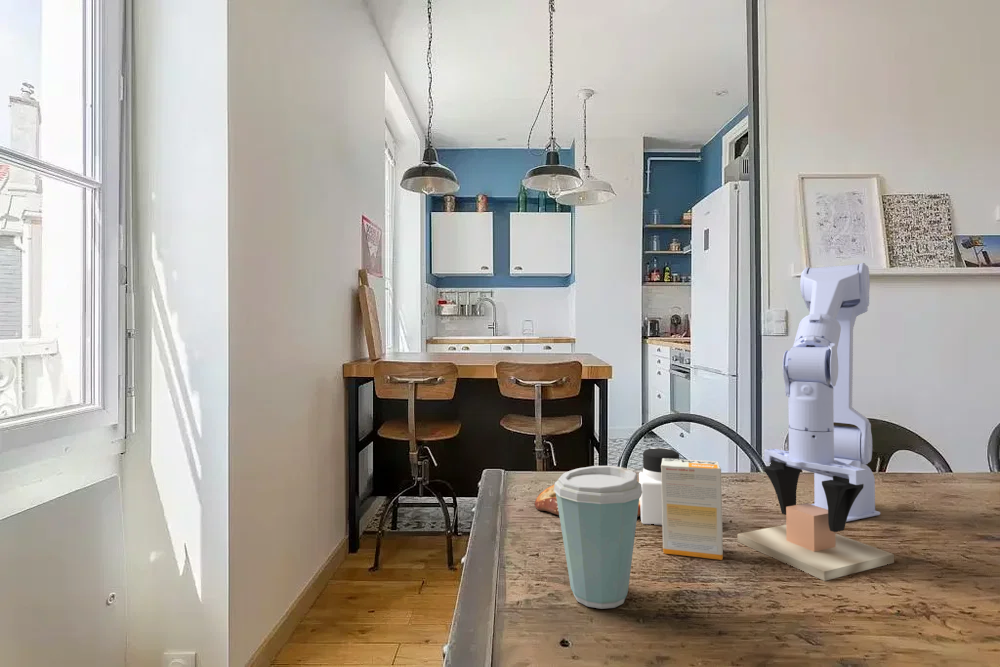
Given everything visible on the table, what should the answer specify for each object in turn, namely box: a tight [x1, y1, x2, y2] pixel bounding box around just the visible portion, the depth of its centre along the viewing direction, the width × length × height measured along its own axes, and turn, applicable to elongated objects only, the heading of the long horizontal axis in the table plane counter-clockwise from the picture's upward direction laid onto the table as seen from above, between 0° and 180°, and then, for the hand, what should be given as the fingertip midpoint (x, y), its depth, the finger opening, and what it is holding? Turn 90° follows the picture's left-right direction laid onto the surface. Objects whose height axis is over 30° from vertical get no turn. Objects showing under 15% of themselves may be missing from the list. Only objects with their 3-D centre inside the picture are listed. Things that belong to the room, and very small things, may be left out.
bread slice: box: [534, 484, 641, 517], centre depth 96 cm, size 18×18×4 cm
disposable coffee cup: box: [553, 465, 642, 610], centre depth 64 cm, size 11×11×15 cm
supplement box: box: [661, 458, 724, 561], centre depth 77 cm, size 8×5×13 cm, turn 71°
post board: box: [737, 524, 895, 582], centre depth 76 cm, size 14×14×4 cm
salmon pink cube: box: [785, 502, 836, 552], centre depth 76 cm, size 4×4×5 cm
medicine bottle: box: [638, 447, 680, 526], centre depth 91 cm, size 7×7×12 cm
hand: (811, 521), depth 76 cm, fingers open, 7 cm apart
